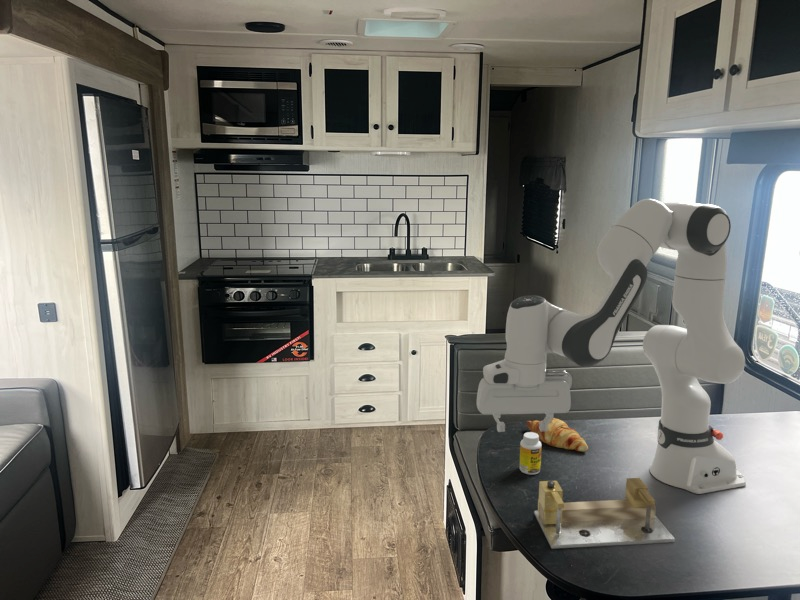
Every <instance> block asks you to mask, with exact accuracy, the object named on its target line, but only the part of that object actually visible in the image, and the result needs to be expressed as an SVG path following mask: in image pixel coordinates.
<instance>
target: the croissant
mask: <svg viewBox="0 0 800 600" xmlns="http://www.w3.org/2000/svg"><path fill="white" fill-rule="evenodd" d="M543 420H544V419H542V420H541V421H543ZM539 421H540V420H537V419H536V420H532V421H531V420H527V421H526V426H527V428H528V429H529V430H530V432H533V433H536V434H538V435H539V441H540V442H541V443H544V444H547V445H548V446H550V447H554V448H560V449H564V450H571V451H573V450H575V451H577V452H586V451H587V450H589V446H588V444H587V442H586V440H585V439H584V438H583V437H581V435H580V434H579V432H578V431H577V430H576V429H575V428H570V427H569V426H568V424H567V422H565V421H564V420H562V419H559V418H555V417H553V419H552V420H551V422H550V423H549V424H548V431H540V429H539V425H540V424H539Z"/></svg>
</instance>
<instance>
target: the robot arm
mask: <svg viewBox="0 0 800 600" xmlns="http://www.w3.org/2000/svg"><path fill="white" fill-rule="evenodd" d="M731 224H732V223H731V220H730V217H729V215H728V214H727V211H726V210H725V209H724V208H721V207H720V206H718V205H715V204H710V203H706V204H705V203H696V202H690V201H679V202H661V201H659V200H657V199H653V198H644V199H641V200H639V201H637V202H635V203H634V204H633V205H632V206H631V207H629V208H628V209H627V210H626V211H625V212H624V213H622V215H621V216H619V218H618V219H617V220H616V221H615V222H614V223H613V225H612V226H611V227H610V228H609V229H608V230H607V232H606V233H605V234H604V235H603V237H602V238H601V239H600V241H599V243H598V246H597V248H596V258H597V261H598V263H599V266H600V268H601V269H602V270H603V272H604V273H606V275H607V276H608V277H610V279H611V284H610V286H609V288H608V290H607V292H606V293H605V295H604V297H603V298H602V300H601V301H600V303H599V305H598V306H597V308H596V309H595V311H594V312H593V313H591V314H588V315H582V314H580V313H577V312H574V311H571V310H568V309H565V308H562V307H559V306H556V305H554V304H552V303H551V302H549V301H548V300H546V297H545V298H544V297H543V296H540V295H523V296H519V297H518V298H515V299H514V300H512V301H511V303H510V304H509V307H508V311H507V314H506V315H507V316H506V323H505V342H506V350H505V353H504V359H502V360H498V361H495V362H493V363H490V364H487V365H484V366H483V368H482V373H483V378H481V380H480V381H479V384H478V389H477V394H476V408H477V410H478V411H479V413H480V414H482V415H492V417H493V419H494V421H495V422H496V431H497V432H498V433H505V432H506V424H505V422H504V421H500V419H501V415H507V414H509V415H510V414H513V415H515V414H517V415H518V414H521V415H522V414H524V415H525V414H545V417H544V419H542V420H543V421H542V420H538V421H539V424H540V425H539V429H540V431H548V424H549V423H550V422H551V420H552V419H553V418H555V417H554V414H567V413H569V411H570V410H571V406H572V403H571V402H572V401H571V400H572V399H571V391H570V390H571V388H572V384H573V383H572V381H573V378H572V375H571V374H570V373H569V372H566V370H547V355H548V354H549V353H555V354H557V355H559V356H562V357H564V358H566V359H568V360H569V361H571V362H573V363H574V364H576V365H578V366H580V367H583V368H591V367H594V366H597V365H598V364H600V363H601V362H603V361H604V360H606V358H607V357H608V356H609V354H610V353H611V350H612V349H613V345H614V343H615V340H616V337H617V335H618V333H619V331H620V329H621V327H622V326H623V324H624V322H625V320H627V319H626V318H627V317H628V315H629V314H630V312H631V310H632V308H633V307H634V305H635V303H636V302H637V299H638V298H639V296H640V295H641V293H642V290H643V289H644V287H645V285H646V282H647V278H648V269H647V266H648V263H649V262H650V260H651V259H652V258H653V256H655V254H656V252H658V250H659V249H660V248H663V249H667V250H674V251H676V252H677V254H678V255H677V259H676V265H675V268H674V270H675V271H674V279H673V287H672V288H673V290H672V297H671V305H672V307H673V309H674V311H675V312H676V313H677V314H678V315H679V316H680V317H681V319H682V322H683V323H684V325H685V327H681V326H677V325H674V324H673V325H671V324H656V325H654V326H652V327H651V328H649V329H648V331H647V332H646V333H645V334H644V336H643V340H642V351H643V353H644V355H645V356H646V357H647V359H648V360H649V361H650V363H651V365H652V366H653V368H654V371H655V372H656V376H657V377H658V381H659V385H660V390H661V411H660V413H661V414H660V419H659V421H658V426H657V446H656V450H655V453H654V457H653V460H652V462H651V465H650V467H649V472H650V474H651V475H652V476H653V477H654V478H655V479H657V481H660V482H662V483H664V484H667V485H670V486H672V487H676V488H680V489H683V490H686V491H688V492H691V493H693V494H697V495H699V494H701V495H702V494H706V493H713V492H718V491H719V492H720V491H723V490H729V489H735V488H740V487H745V486H746V482H747V481H746V480H747V479H746V478H745V476H744V474H743V473H741V471H740V470H739V469H738V468H737V464H736V460H735V458H734V456H733V455H732V453H730V452H729V450H727V449H726V448H725V447H724V446H722V445H721V444H720V443H719V442H717V441H716V440H718V441H720V440H723V439H724V433H722V431H720V430H718V429H714V427H712V426H711V425H710V416H711V415H710V414H711V405H712V403H711V399H710V396H709V394H708V393H707V391H706V390H705V389H704V388H703V387H702V385H701V384H700V383H699V380H702V381H705V382H707V383H714V384H722V385H728V384H732V383H733V382H735V381H737V379H739V377H741V375H742V374H743V372H744V369H745V365H746V358H745V353H744V351H743V349H742V348H741V347H740V346H739V345H738V344H737V342H736V341H735V340H734V339H733V337H732V335H731V333H730V332H729V331H730V330H729V329H728V326H727V323H726V319H725V316H724V315H725V314H724V293H725V285H726V277H727V276H726V275H727V247H726V242H727V240H728V238H729V236H730V233H731V229H732V228H731V226H732V225H731ZM698 379H699V380H698ZM714 438H715V439H716V440H715V439H714Z"/></svg>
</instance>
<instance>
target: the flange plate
mask: <svg viewBox="0 0 800 600" xmlns="http://www.w3.org/2000/svg"><path fill="white" fill-rule="evenodd" d="M533 514H534V516H535V518H536V521H537V523H538V525H539V526H540V528H541V530H542V532H543V534H544V536H545V538H546V540H547V542H548V545H549V546H550V548H551V549H553V550H555V549H569V548H571V549H573V548H587V547H589V548H590V547H591V548H592V547H606V546H607V547H608V546H623V545H624V546H627V545H642V544H644V545H645V544H659V543H660V544H662V543H663V544H665V543H675V542H676V541H675V540H676V538H675V537H674V536H673V535H672V533H671V532H670V531H669V529H667V528H666V526H665V525H664V524H663V523H662V521H661V520H660V519H659V518H658V516H657V515H656V514H655V517H652V518H650V527H649V530H647V529H645V521H646V518H633V519H613V520H594V521H575V522H562V524H561V526H560V534H556V524H544V523H543V522H542V520H541V518H540V516H539V513H538V510H534V511H533Z"/></svg>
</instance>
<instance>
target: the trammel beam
mask: <svg viewBox="0 0 800 600" xmlns="http://www.w3.org/2000/svg"><path fill="white" fill-rule="evenodd" d="M625 481H626V482H625V483H626V484H625V496H624V498H625V499H612V500H611V499H610V500H608V499H607V500H590V501H589V500H588V501H571V502H570V501H569V502H567V501H566V502H564V509H562V522H575V521H594V520H613V519H633V518H646V521H645V529H647V530H649V527H650V518H652V517H655V515H656V508H657V506H656V504H655V503H656V500H655V498H654V497H653V496H652V495H651V494H650V493H649V487H648V485H646V483H644V481H643V480H642V479H641V478H640V477H629V478H626V480H625ZM539 516H540V518H541V520H542V522H543V519H544V510H543V508H542V506H541V504H539Z"/></svg>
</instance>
